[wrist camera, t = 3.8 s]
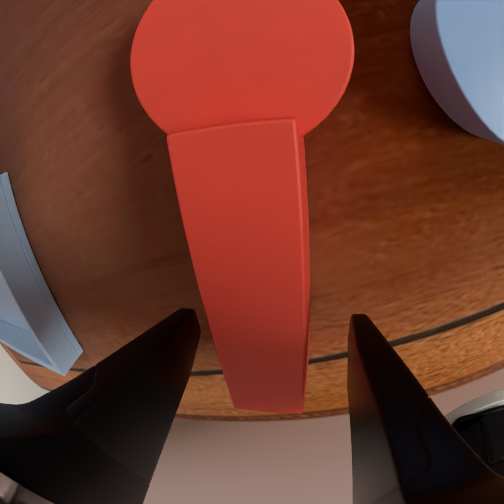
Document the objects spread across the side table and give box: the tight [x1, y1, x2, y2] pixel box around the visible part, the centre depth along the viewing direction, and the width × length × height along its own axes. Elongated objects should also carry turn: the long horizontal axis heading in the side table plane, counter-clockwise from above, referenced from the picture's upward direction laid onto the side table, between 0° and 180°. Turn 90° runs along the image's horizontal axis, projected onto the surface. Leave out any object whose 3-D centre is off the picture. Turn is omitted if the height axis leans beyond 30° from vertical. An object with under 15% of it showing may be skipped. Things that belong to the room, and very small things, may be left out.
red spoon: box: [130, 0, 355, 414], centre depth 6 cm, size 12×5×3 cm, turn 7°
